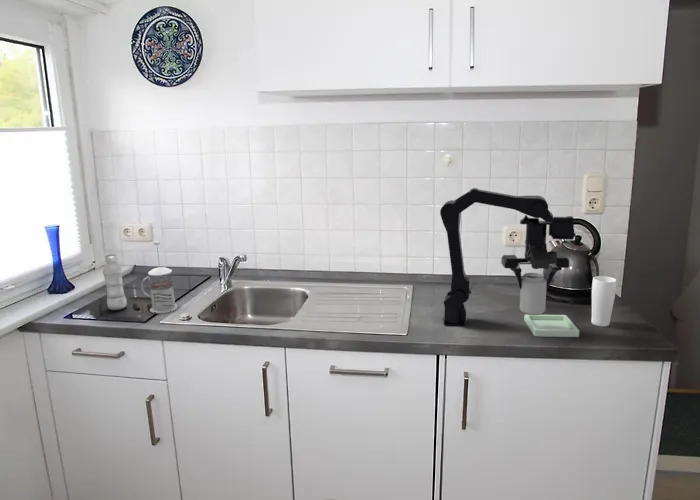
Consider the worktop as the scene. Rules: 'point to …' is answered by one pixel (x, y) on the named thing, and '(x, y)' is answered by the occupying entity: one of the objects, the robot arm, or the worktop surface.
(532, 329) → the tray
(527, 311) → the can
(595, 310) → the drinking glass
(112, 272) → the plastic bottle
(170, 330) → the worktop surface
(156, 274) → the french press
